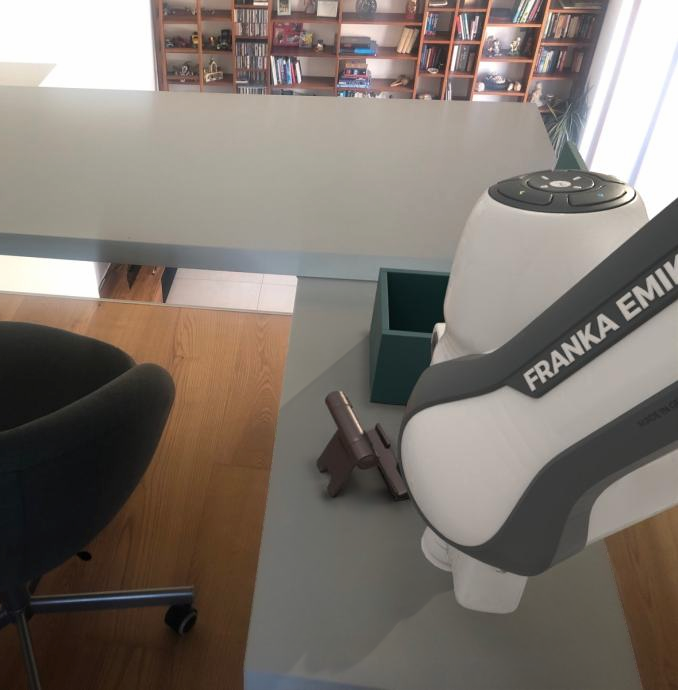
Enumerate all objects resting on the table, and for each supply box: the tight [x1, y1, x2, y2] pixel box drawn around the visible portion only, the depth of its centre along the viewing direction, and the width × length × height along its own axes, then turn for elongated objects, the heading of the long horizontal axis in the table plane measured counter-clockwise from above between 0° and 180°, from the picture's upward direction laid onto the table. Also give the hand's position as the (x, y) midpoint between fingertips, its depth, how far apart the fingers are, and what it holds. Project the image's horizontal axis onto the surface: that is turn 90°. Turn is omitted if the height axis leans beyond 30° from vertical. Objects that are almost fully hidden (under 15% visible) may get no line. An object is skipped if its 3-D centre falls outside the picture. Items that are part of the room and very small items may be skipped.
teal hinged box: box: [369, 267, 451, 406], centre depth 80 cm, size 16×13×10 cm
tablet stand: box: [316, 390, 410, 501], centre depth 70 cm, size 9×8×8 cm
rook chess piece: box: [420, 525, 452, 573], centre depth 54 cm, size 4×4×8 cm
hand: (454, 530), depth 54 cm, fingers closed on rook chess piece, 3 cm apart
